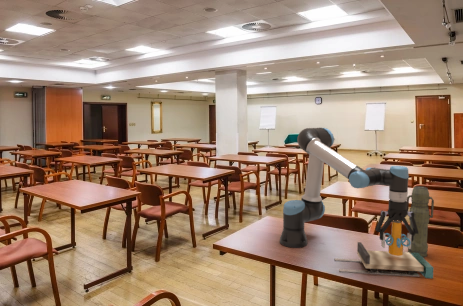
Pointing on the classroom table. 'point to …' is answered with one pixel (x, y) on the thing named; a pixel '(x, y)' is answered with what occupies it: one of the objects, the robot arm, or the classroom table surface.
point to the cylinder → (396, 239)
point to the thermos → (420, 219)
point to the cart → (388, 260)
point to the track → (426, 273)
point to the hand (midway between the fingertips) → (395, 247)
